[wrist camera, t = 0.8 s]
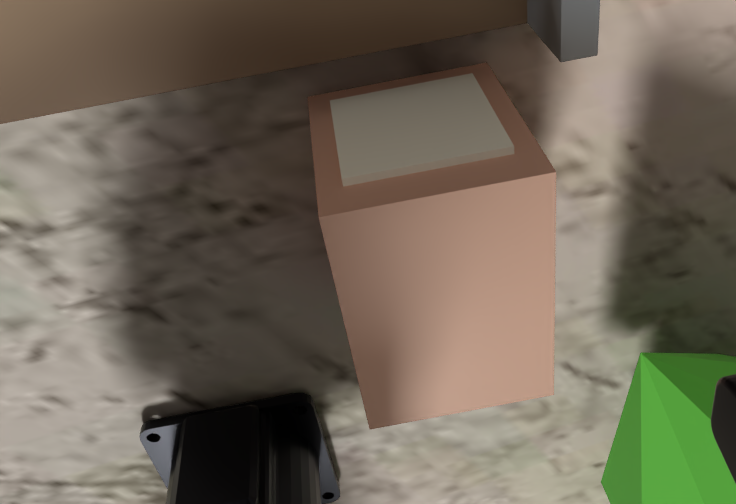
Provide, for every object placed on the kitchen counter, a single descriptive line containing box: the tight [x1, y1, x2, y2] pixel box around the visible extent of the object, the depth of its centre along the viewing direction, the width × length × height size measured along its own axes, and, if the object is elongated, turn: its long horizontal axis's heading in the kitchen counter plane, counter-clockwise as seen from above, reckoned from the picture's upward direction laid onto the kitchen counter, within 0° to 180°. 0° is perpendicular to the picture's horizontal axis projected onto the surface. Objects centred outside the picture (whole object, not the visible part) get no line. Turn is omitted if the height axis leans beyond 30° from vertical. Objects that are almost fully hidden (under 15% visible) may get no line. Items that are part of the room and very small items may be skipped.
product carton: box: [307, 62, 556, 429], centre depth 19 cm, size 7×5×6 cm
